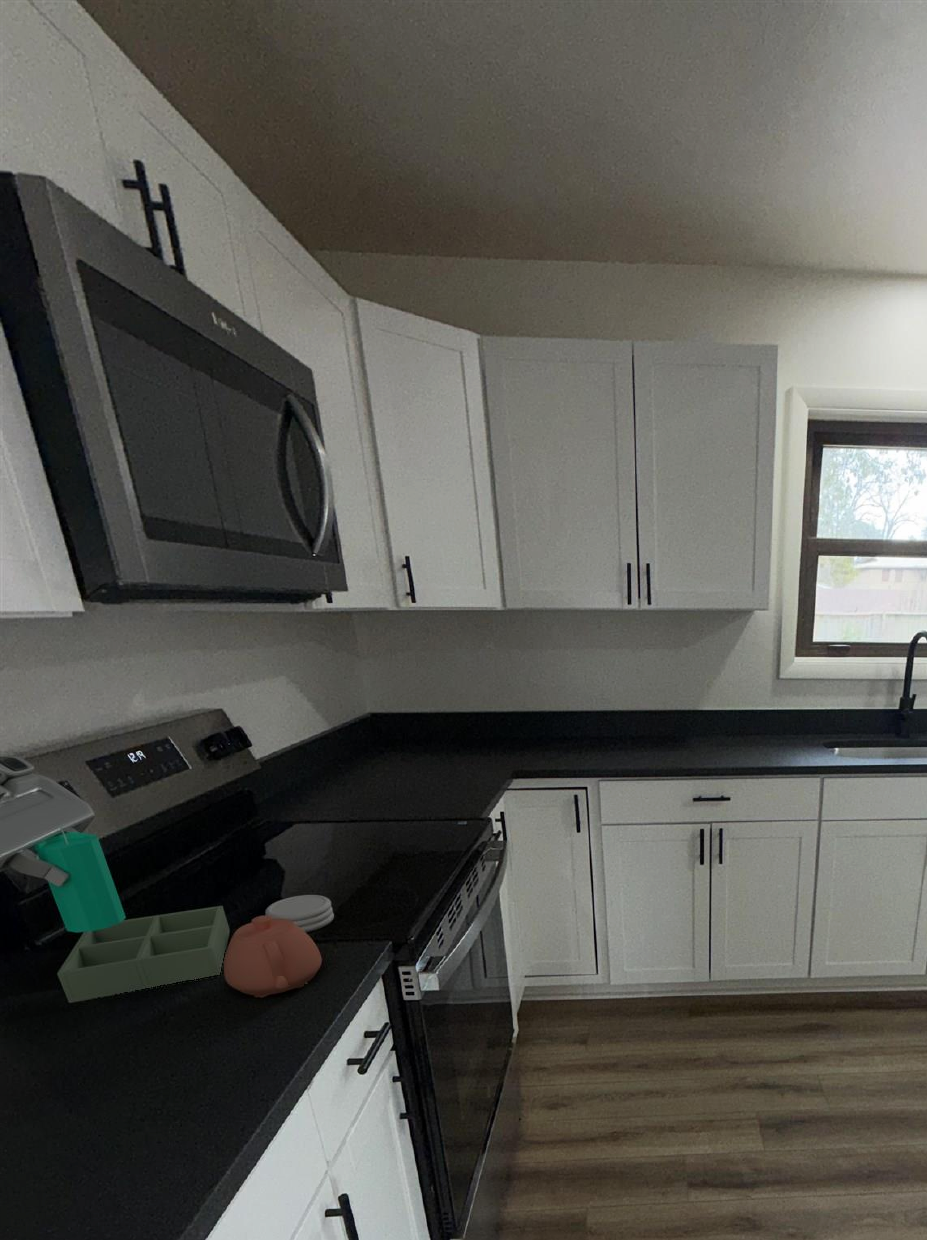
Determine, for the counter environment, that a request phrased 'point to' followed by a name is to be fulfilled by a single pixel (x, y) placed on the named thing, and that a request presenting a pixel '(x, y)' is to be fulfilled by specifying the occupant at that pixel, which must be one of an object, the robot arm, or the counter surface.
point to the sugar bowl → (270, 957)
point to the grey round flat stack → (303, 911)
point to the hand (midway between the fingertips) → (83, 871)
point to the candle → (82, 882)
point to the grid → (146, 954)
